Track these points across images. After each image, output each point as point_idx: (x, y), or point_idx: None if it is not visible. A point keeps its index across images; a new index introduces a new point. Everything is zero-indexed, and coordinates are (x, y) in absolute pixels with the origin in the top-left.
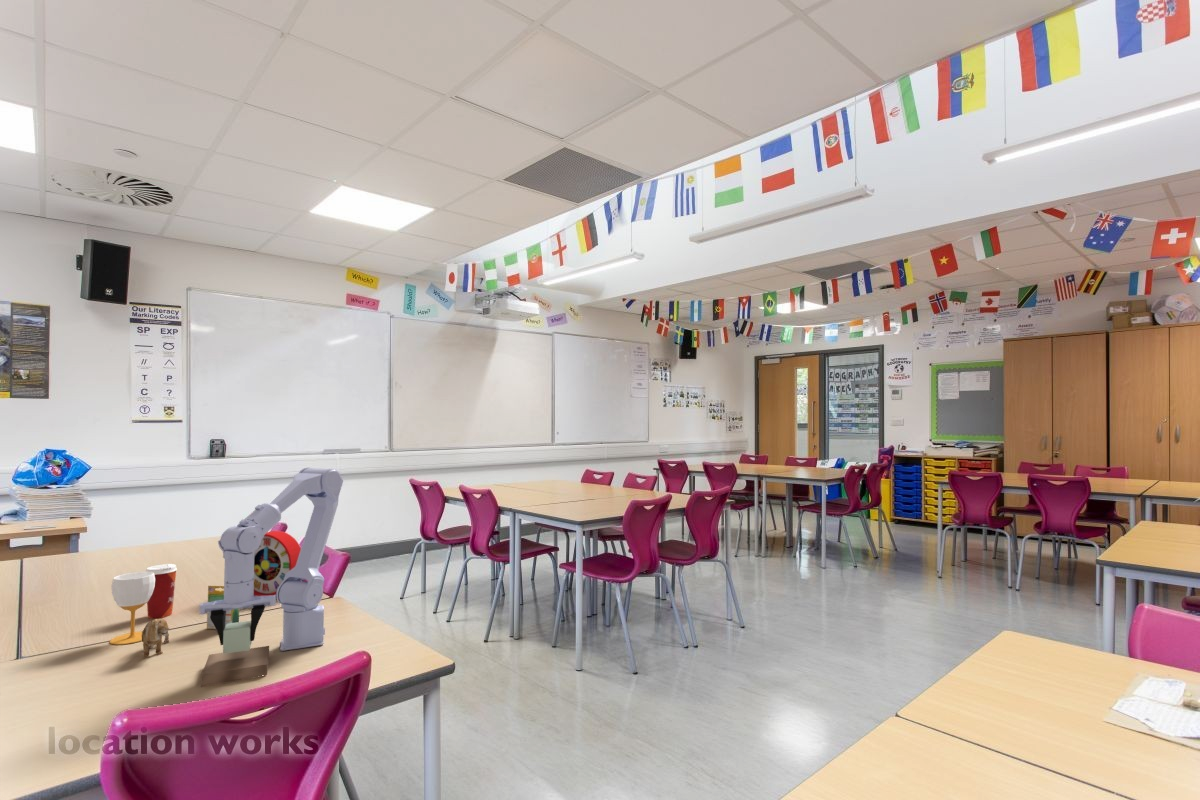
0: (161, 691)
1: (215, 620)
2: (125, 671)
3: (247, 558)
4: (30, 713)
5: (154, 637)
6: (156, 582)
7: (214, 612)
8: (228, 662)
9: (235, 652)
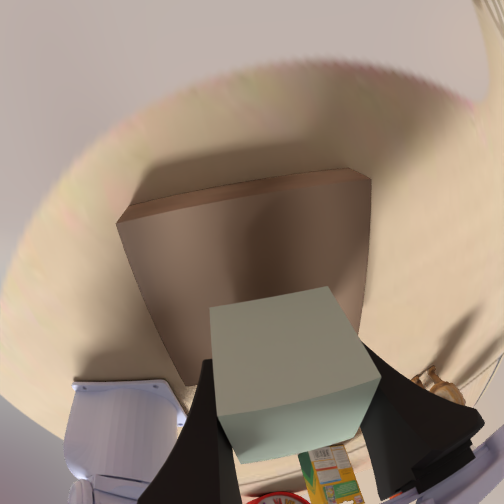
0: (435, 181)
1: (454, 416)
2: (463, 316)
3: None
4: None
5: (448, 390)
6: None
7: (458, 460)
8: (291, 283)
9: None
